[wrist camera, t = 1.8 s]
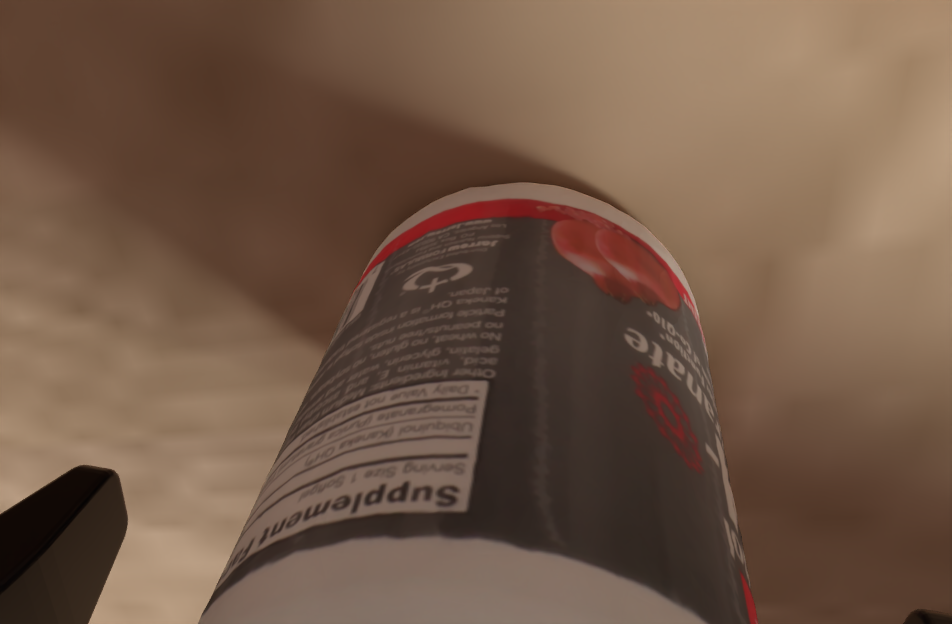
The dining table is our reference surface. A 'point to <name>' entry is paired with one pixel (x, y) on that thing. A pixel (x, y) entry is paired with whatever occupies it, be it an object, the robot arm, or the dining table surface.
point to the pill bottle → (502, 436)
